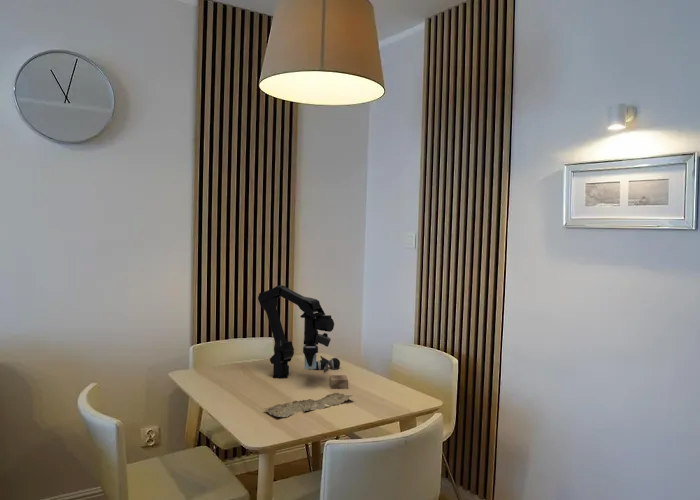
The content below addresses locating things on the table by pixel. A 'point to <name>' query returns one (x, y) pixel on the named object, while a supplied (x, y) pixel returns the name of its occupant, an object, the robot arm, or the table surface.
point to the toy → (324, 364)
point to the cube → (312, 363)
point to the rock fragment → (306, 405)
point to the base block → (338, 382)
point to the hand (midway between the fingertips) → (310, 364)
